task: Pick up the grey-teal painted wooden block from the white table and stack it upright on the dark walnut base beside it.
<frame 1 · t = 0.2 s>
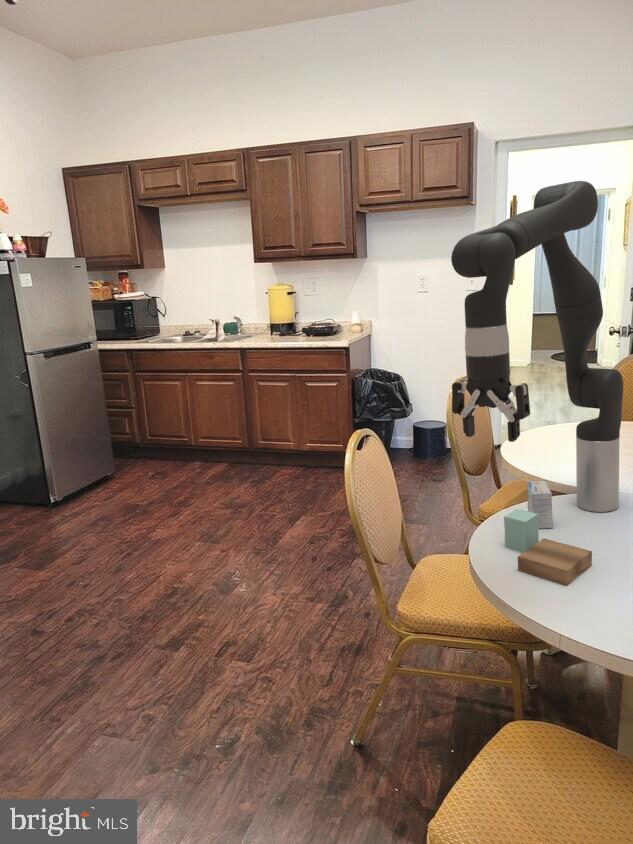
hand: (491, 438, 112), 28 cm above the table, tool pointing down, fingers open, 8 cm apart
walnut base: (554, 567, 120), on the table
teal block: (521, 545, 130), on the table
medicine box: (539, 522, 141), on the table
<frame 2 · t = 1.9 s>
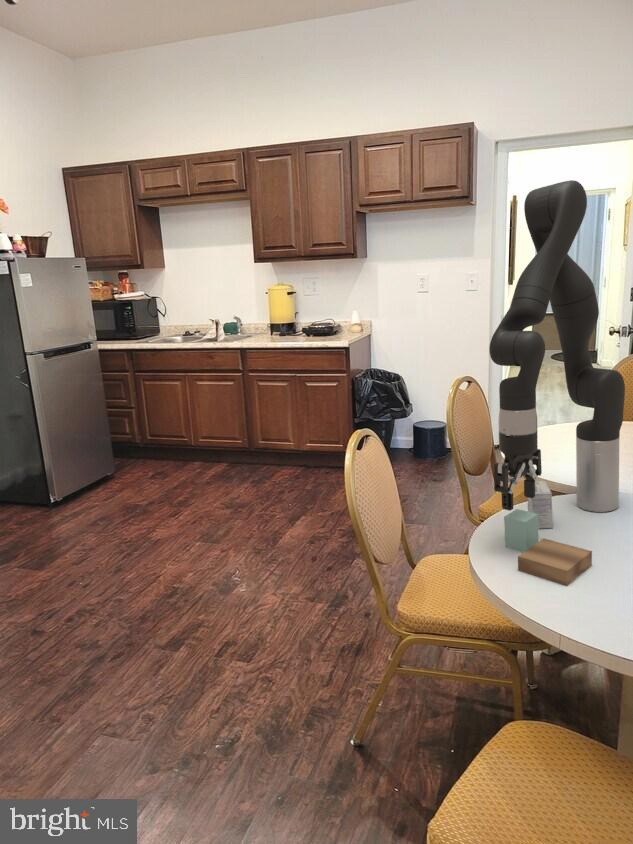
hand: (518, 503, 128), 10 cm above the table, tool pointing down, fingers open, 8 cm apart
nothing on the table moved.
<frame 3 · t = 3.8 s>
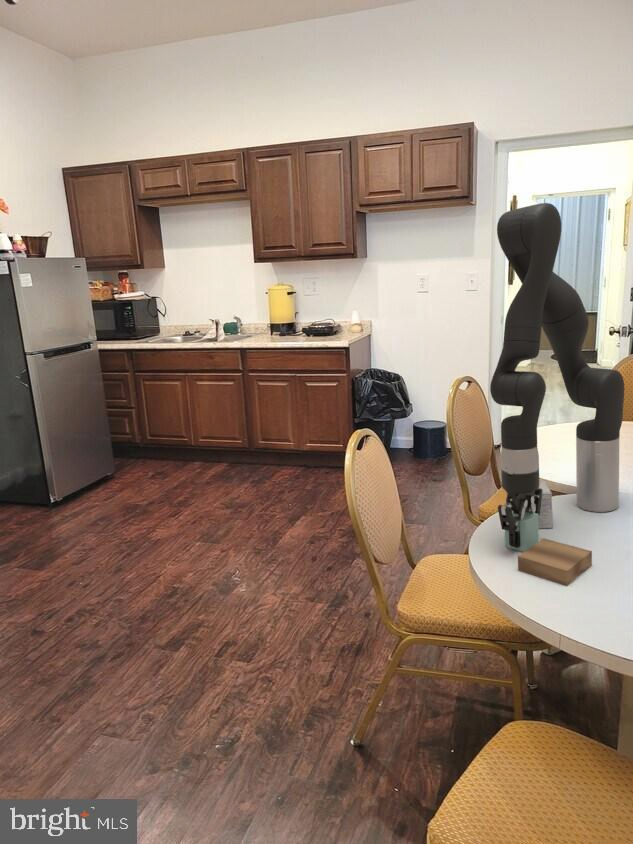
hand: (521, 541, 130), 1 cm above the table, tool pointing down, fingers closed on teal block, 5 cm apart
teal block: (521, 545, 130), on the table, touching gripper
everything else where it was.
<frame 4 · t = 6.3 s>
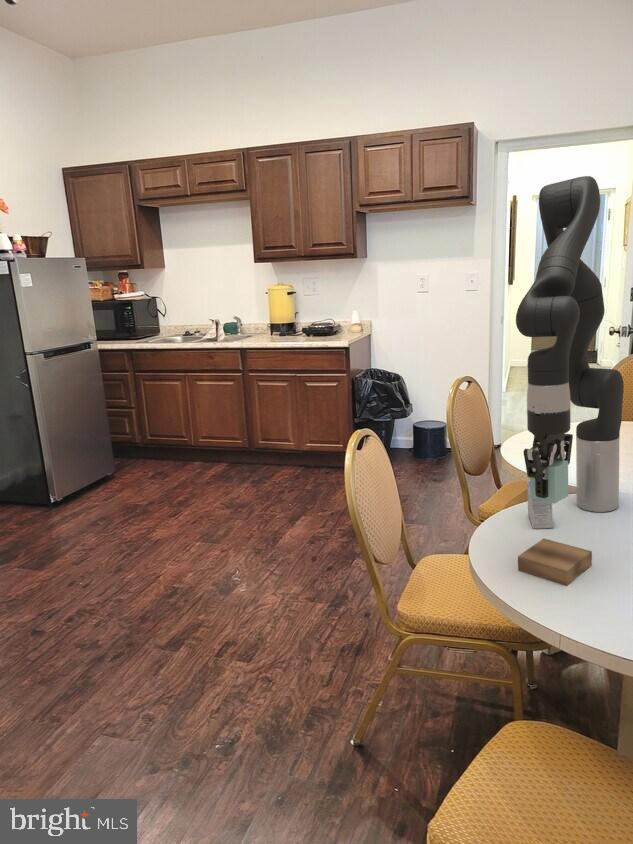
hand: (549, 492, 117), 16 cm above the table, tool pointing down, fingers closed on teal block, 5 cm apart
teal block: (549, 496, 117), point 15 cm above the table, touching gripper
everything else where it was.
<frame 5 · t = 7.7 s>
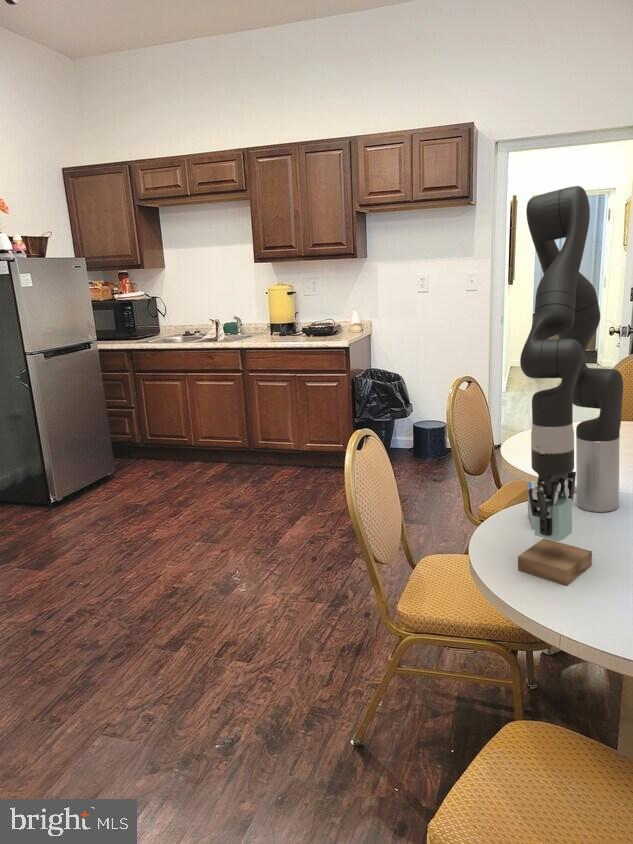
hand: (553, 529, 118), 8 cm above the table, tool pointing down, fingers closed on teal block, 5 cm apart
teal block: (553, 533, 118), point 7 cm above the table, touching gripper
everything else where it was.
when the fingers open (5 cm above the table, at t = 9.1 s): teal block drops 1 cm, resting on walnut base.
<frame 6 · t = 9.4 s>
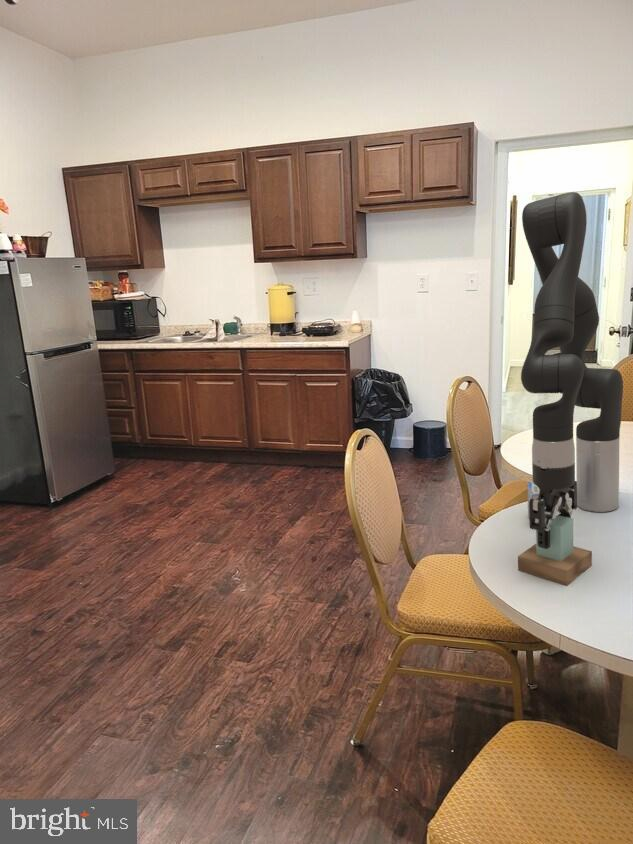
hand: (554, 539, 118), 6 cm above the table, tool pointing down, fingers open, 7 cm apart
teal block: (554, 553, 119), point 3 cm above the table, touching walnut base
everything else where it was.
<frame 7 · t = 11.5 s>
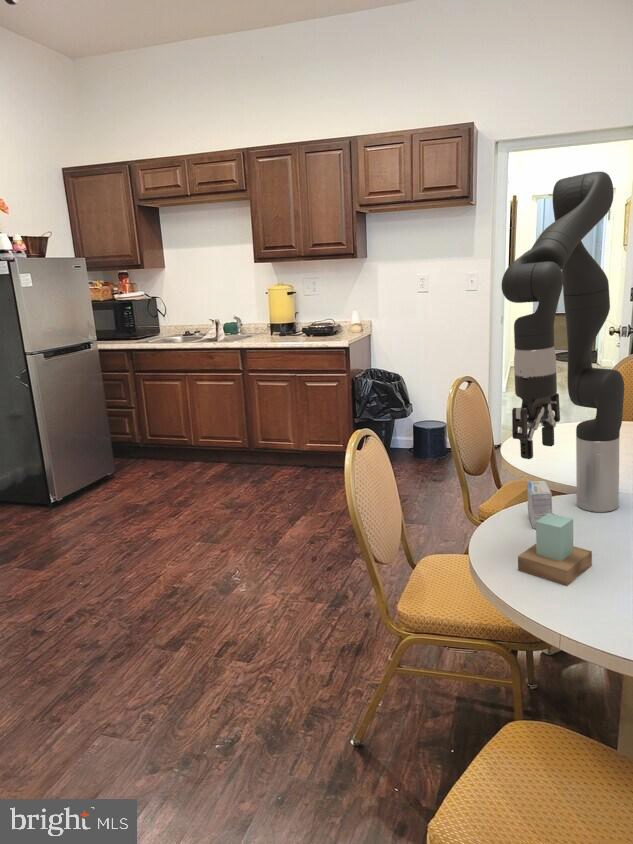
hand: (537, 451, 119), 22 cm above the table, tool pointing down, fingers open, 8 cm apart
nothing on the table moved.
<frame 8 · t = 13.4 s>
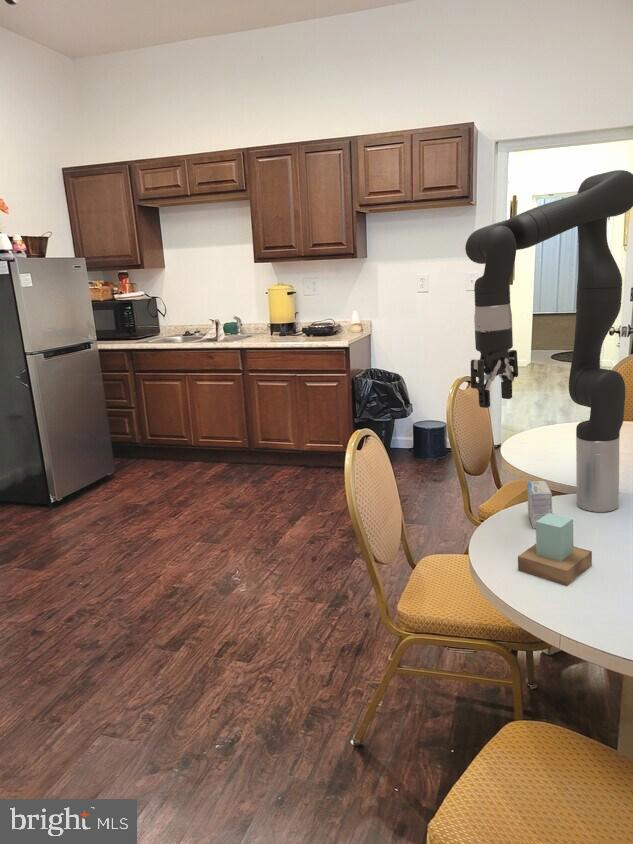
hand: (496, 402, 130), 30 cm above the table, tool pointing down, fingers open, 8 cm apart
nothing on the table moved.
at the end: teal block 0.2 cm off-centre on the walnut base, point 3.0 cm above the walnut base's base; teal block tilted 0°; the gripper is holding nothing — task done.
